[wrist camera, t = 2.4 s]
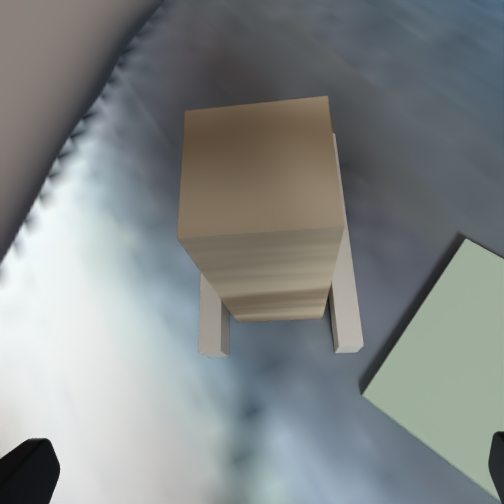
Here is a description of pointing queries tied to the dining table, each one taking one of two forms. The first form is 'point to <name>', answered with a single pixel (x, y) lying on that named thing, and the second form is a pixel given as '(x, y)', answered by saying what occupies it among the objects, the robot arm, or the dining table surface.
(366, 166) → the dining table surface
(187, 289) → the dining table surface
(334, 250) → the block
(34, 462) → the robot arm
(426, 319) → the mat
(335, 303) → the channel
